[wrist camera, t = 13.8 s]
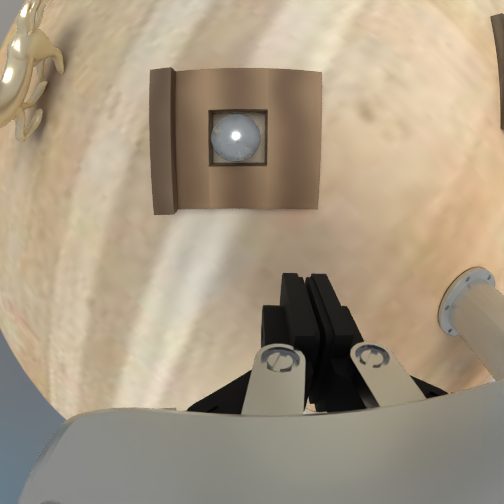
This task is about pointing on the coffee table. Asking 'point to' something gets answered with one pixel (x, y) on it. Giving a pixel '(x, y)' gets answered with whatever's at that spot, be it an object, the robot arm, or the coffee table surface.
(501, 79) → the book frame
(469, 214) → the coffee table surface
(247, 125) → the blue-grey domed cylinder
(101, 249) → the coffee table surface
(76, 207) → the coffee table surface
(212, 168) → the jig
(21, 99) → the unicorn
